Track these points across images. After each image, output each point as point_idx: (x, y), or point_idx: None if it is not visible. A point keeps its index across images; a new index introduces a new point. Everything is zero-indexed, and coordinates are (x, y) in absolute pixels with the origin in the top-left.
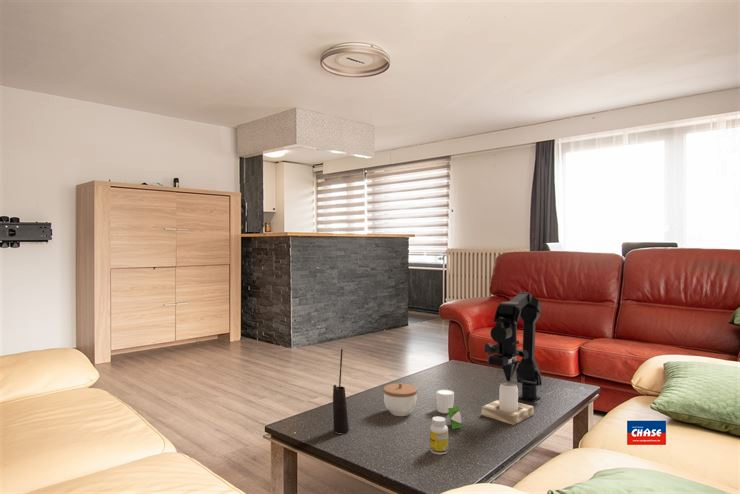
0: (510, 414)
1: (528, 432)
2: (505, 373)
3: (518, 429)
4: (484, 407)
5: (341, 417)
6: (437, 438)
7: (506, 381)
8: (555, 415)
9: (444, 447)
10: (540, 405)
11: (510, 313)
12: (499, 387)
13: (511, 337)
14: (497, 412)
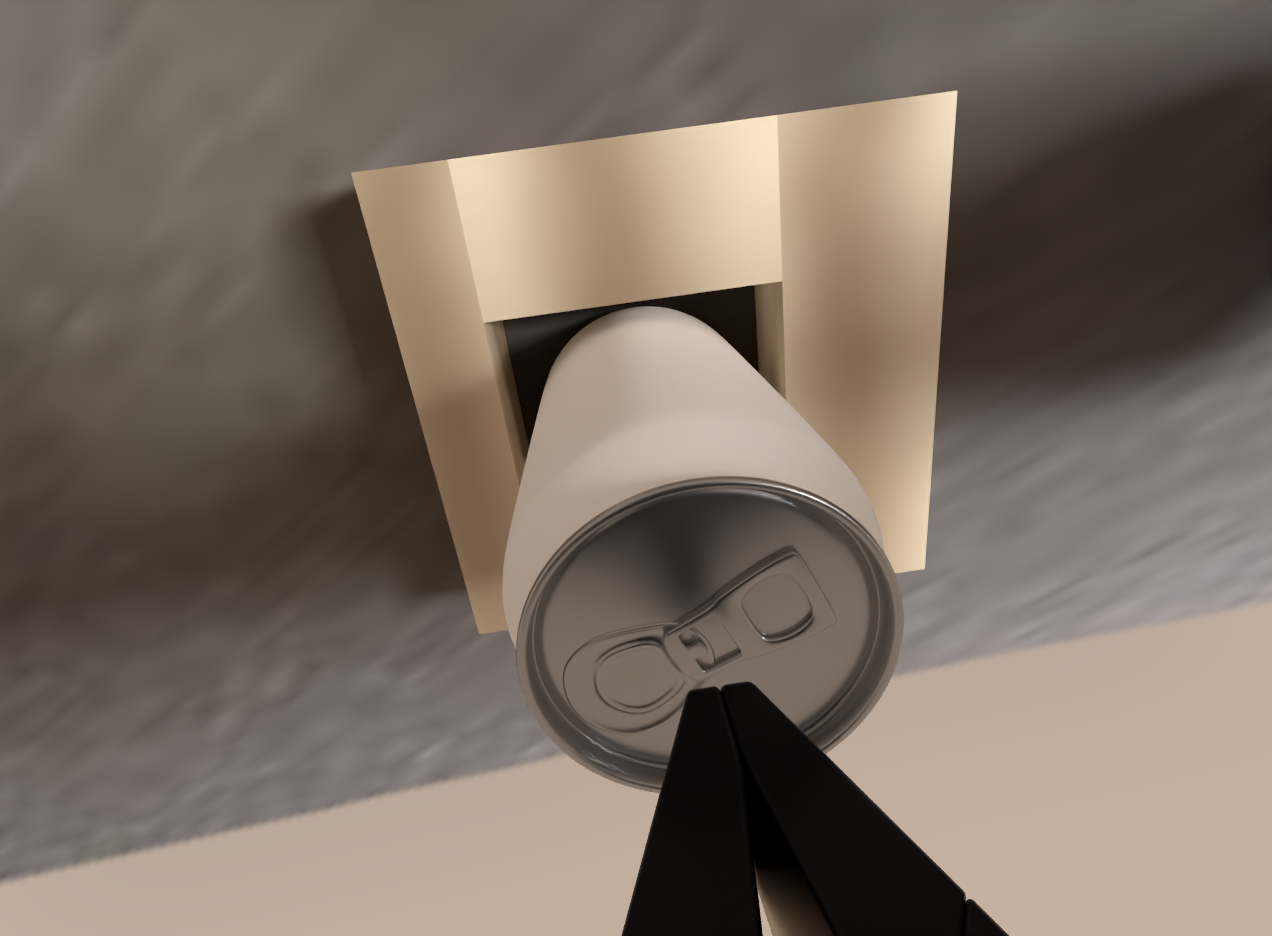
0: (486, 587)
1: (470, 728)
2: (639, 920)
3: (446, 657)
4: (371, 226)
5: None
6: None
7: (832, 520)
8: (1009, 631)
9: None
10: (1215, 397)
11: None
12: (562, 460)
13: None
14: (430, 435)
